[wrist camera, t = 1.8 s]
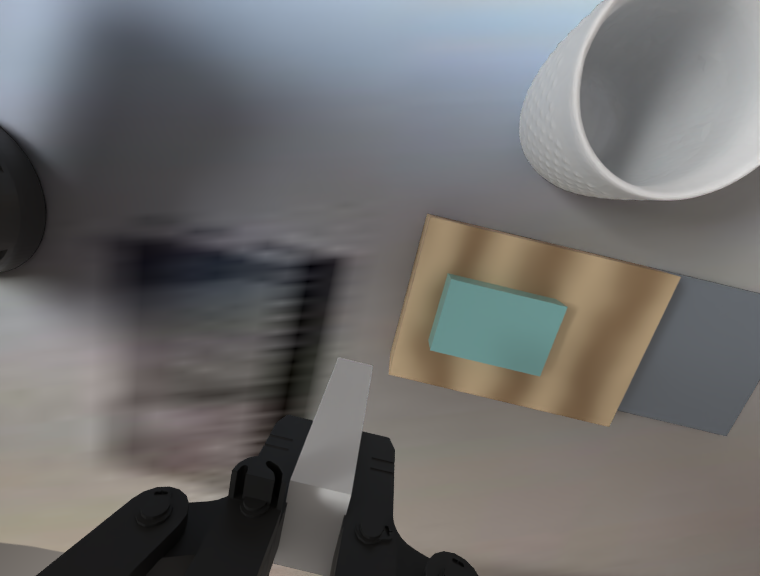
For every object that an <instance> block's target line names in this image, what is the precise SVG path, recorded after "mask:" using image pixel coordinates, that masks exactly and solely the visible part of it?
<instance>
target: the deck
mask: <svg viewBox="0 0 760 576" xmlns="http://www.w3.org/2000/svg"><path fill="white" fill-rule="evenodd" d="M448 273H449V274H453V275H457V276H461V277H466V278H470V279H474V280H478V281H482V282H486V283H491V284H495V285H499V286H503V287H507V288H511V289H516V290H520V291H524V292H528V293H532V294H536V295H541V296H545V297H549V298H553V299H557V300H558V301H560V302H561V303H563V304H564V305H565V306H567V310H566V313H565V315H564V318H563V320H562V323H561V325H560V328H559V330H558V333H557V335H556V338H555V340H554V343H553V345H552V348H551V350H550V353H549V355H548V358H547V360H546V363H545V365H544V368H543V370H542V373H541V375H540V376H536V375H531V374H527V373H523V372H519V371H515V370H510V369H506V368H502V367H498V366H494V365H489V364H485V363H481V362H477V361H473V360H468V359H464V358H460V357H456V356H452V355H447V354H443V353H439V352H435V351H431V350H430V347H429V341H428V339H429V336H430V333H431V329H432V326H433V322H434V319H435V315H436V312H437V309H438V305H439V302H440V298H441V295H442V292H443V288H444V285H445V281H446V278H447V274H448ZM680 278H681V277H680V276H677V275H673V274H670V273H667V272H663V271H660V270H657V269H654V268H650V267H647V266H643V265H639V264H635V263H630V262H626V261H622V260H618V259H614V258H610V257H605V256H601V255H597V254H593V253H589V252H585V251H580V250H576V249H572V248H568V247H564V246H560V245H555V244H551V243H547V242H543V241H539V240H535V239H531V238H526V237H522V236H518V235H514V234H510V233H506V232H501V231H497V230H493V229H489V228H485V227H481V226H476V225H472V224H468V223H464V222H460V221H456V220H451V219H447V218H443V217H439V216H435V215H431V214H427V216H426V220H425V223H424V227H423V231H422V235H421V239H420V242H419V246H418V250H417V254H416V258H415V261H414V265H413V269H412V273H411V277H410V280H409V284H408V288H407V292H406V296H405V299H404V303H403V307H402V311H401V315H400V318H399V322H398V326H397V330H396V334H395V338H394V341H393V345H392V349H391V353H390V363H389V375H393V376H397V377H402V378H406V379H410V380H414V381H418V382H423V383H427V384H431V385H435V386H439V387H444V388H448V389H452V390H456V391H460V392H465V393H469V394H473V395H477V396H482V397H486V398H490V399H494V400H498V401H503V402H507V403H511V404H515V405H519V406H524V407H528V408H532V409H536V410H540V411H545V412H549V413H553V414H557V415H561V416H566V417H570V418H574V419H578V420H582V421H587V422H591V423H595V424H599V425H604V426H608V427H609V426H610V424H611V422H612V420H613V418H614V416H615V414H616V412H617V409H618V407H619V405H620V403H621V401H622V399H623V397H624V395H625V393H626V391H627V389H628V387H629V384H630V382H631V380H632V378H633V376H634V374H635V372H636V370H637V368H638V366H639V364H640V362H641V359H642V357H643V355H644V353H645V351H646V349H647V347H648V345H649V343H650V341H651V339H652V336H653V334H654V332H655V330H656V328H657V326H658V324H659V322H660V320H661V318H662V316H663V314H664V311H665V309H666V307H667V305H668V303H669V301H670V299H671V297H672V295H673V293H674V291H675V289H676V286H677V284H678V282H679V280H680Z"/></svg>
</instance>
